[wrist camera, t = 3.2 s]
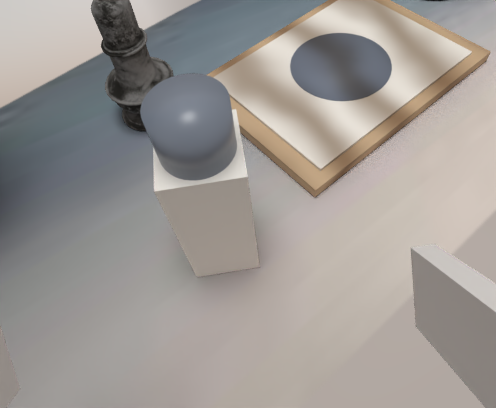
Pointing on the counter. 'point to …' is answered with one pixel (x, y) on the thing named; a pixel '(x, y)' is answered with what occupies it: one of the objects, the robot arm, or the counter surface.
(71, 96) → the counter surface
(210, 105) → the dome-capped white pillar
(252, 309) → the counter surface
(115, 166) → the counter surface
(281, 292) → the counter surface
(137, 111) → the dark chess piece
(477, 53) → the picture frame
